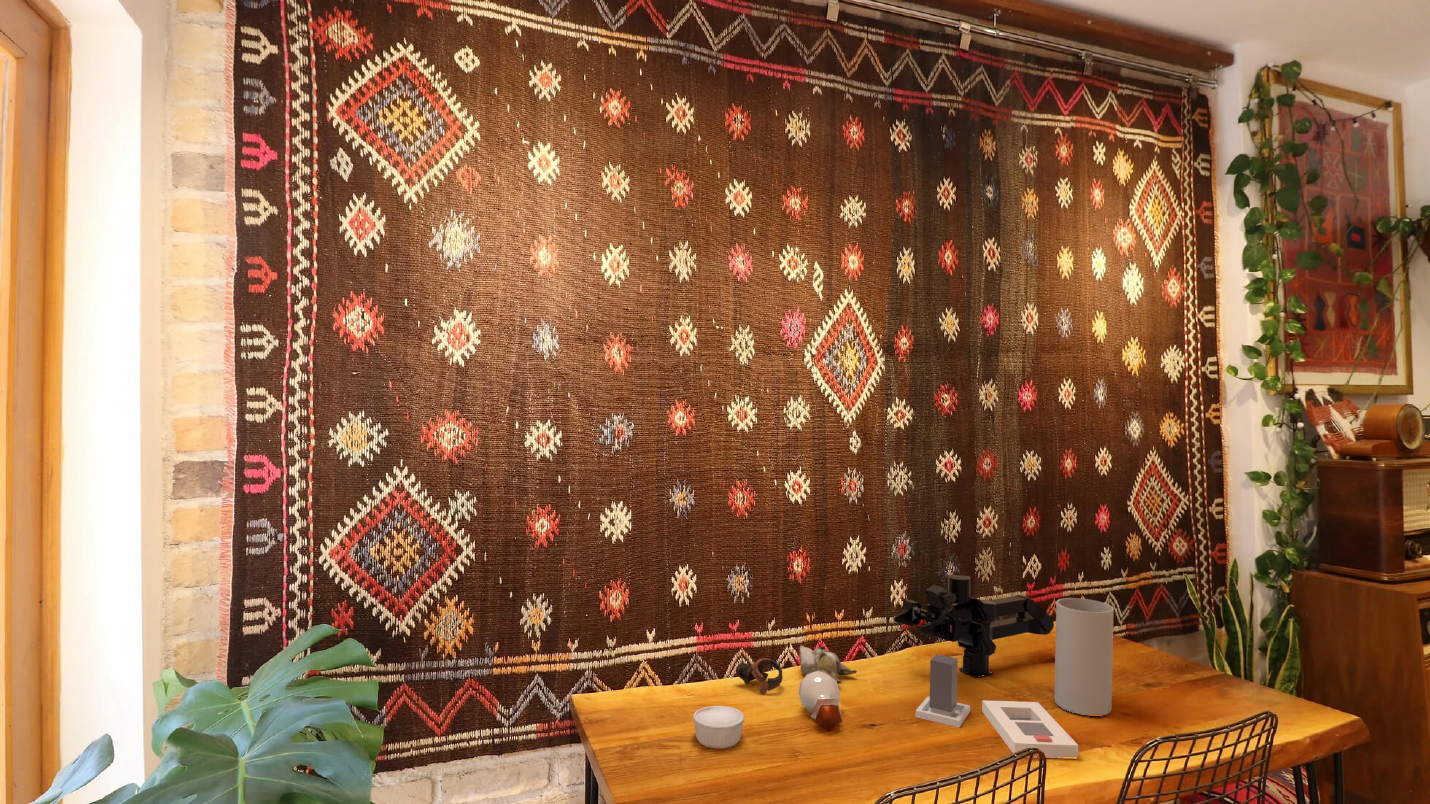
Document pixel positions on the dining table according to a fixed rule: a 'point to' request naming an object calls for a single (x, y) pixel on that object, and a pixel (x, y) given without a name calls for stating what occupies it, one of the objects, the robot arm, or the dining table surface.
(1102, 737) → the dining table surface
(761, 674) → the brown curved piece
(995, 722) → the power strip
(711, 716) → the ramekin
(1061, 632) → the cylinder vase
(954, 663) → the plug
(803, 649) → the ceramic sculpture
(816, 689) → the potion bottle
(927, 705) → the tray
